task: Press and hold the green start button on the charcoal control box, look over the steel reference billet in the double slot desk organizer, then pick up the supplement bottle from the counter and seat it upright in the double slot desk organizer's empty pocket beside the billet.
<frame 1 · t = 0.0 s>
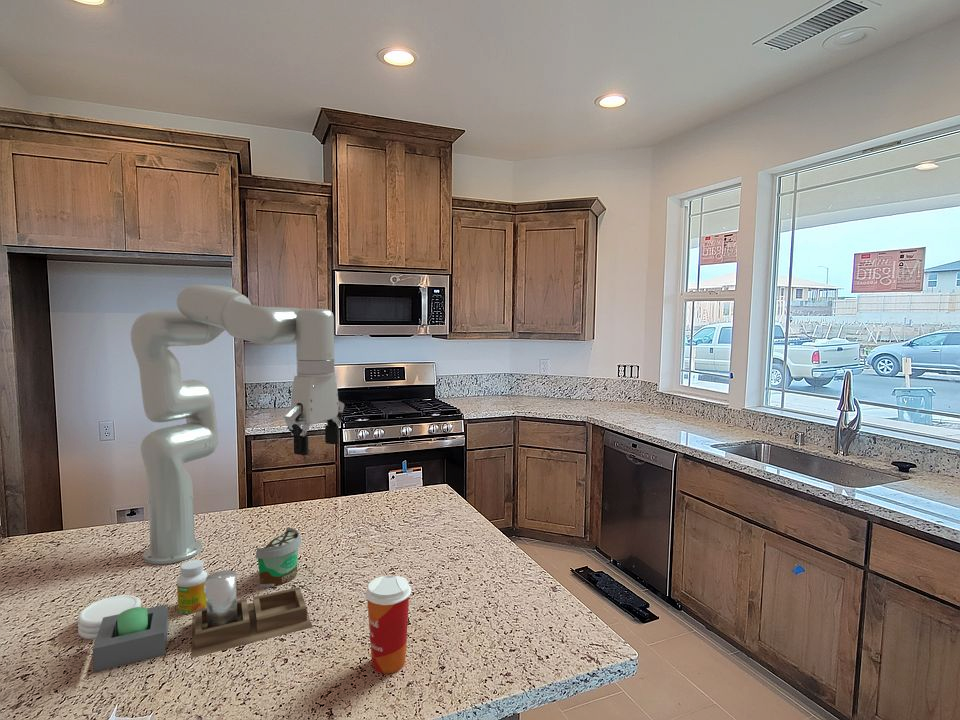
hand: (317, 448, 111), 31 cm above the countertop, tool pointing down, fingers open, 9 cm apart
start button: (133, 626, 92), point 5 cm above the countertop, slide at 0.0 cm
supplement bottle: (193, 611, 106), on the countertop
control box: (134, 651, 93), on the countertop
paper cup: (388, 664, 90), on the countertop
food container: (285, 582, 117), on the countertop
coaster: (110, 626, 101), on the countertop
double slot desk organizer: (252, 626, 100), on the countertop
reference billet: (222, 628, 98), point 1 cm above the countertop, touching double slot desk organizer
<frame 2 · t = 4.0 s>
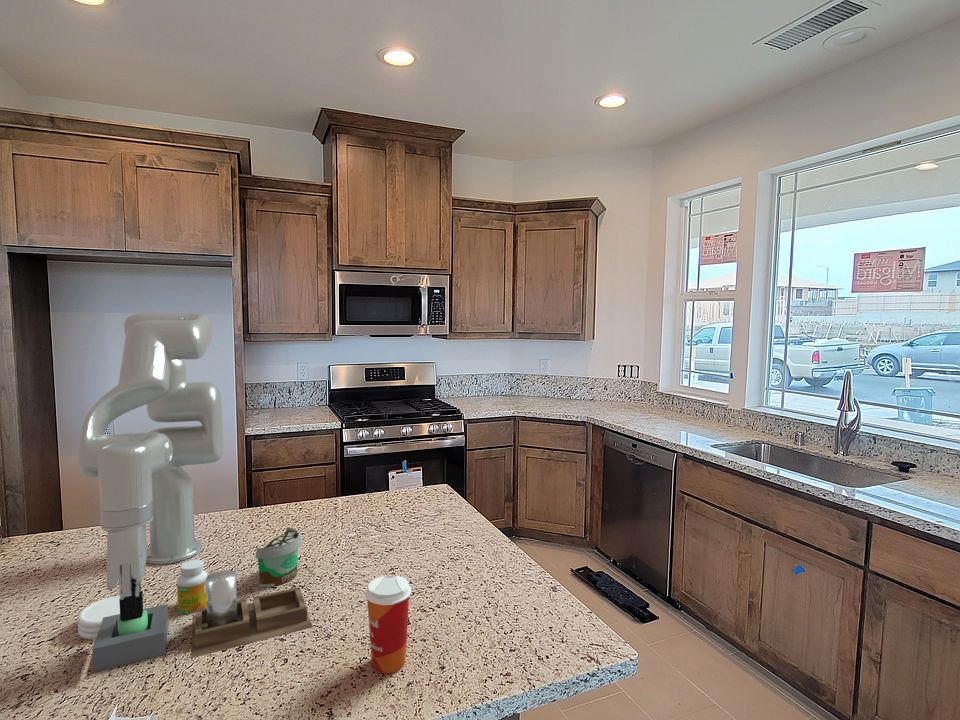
hand: (132, 617, 92), 7 cm above the countertop, tool pointing down, fingers closed
start button: (133, 628, 92), point 4 cm above the countertop, slide at 0.4 cm, touching gripper
everything else where it was.
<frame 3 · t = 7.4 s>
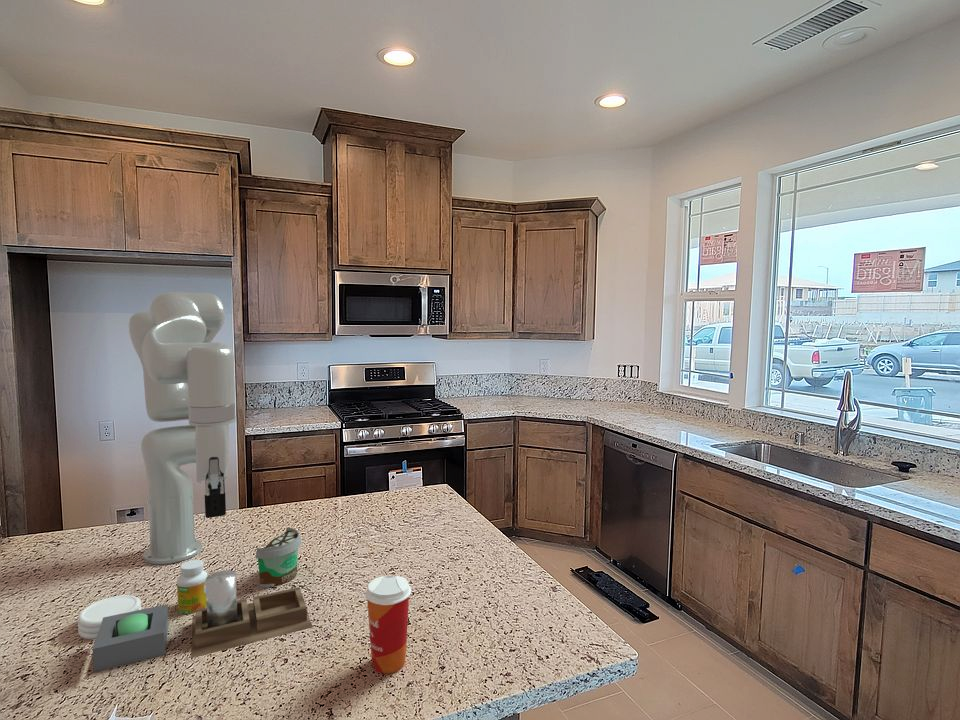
hand: (215, 507, 96), 24 cm above the countertop, tool pointing down, fingers open, 9 cm apart
start button: (133, 632, 92), point 4 cm above the countertop, slide at 1.2 cm
everything else where it was.
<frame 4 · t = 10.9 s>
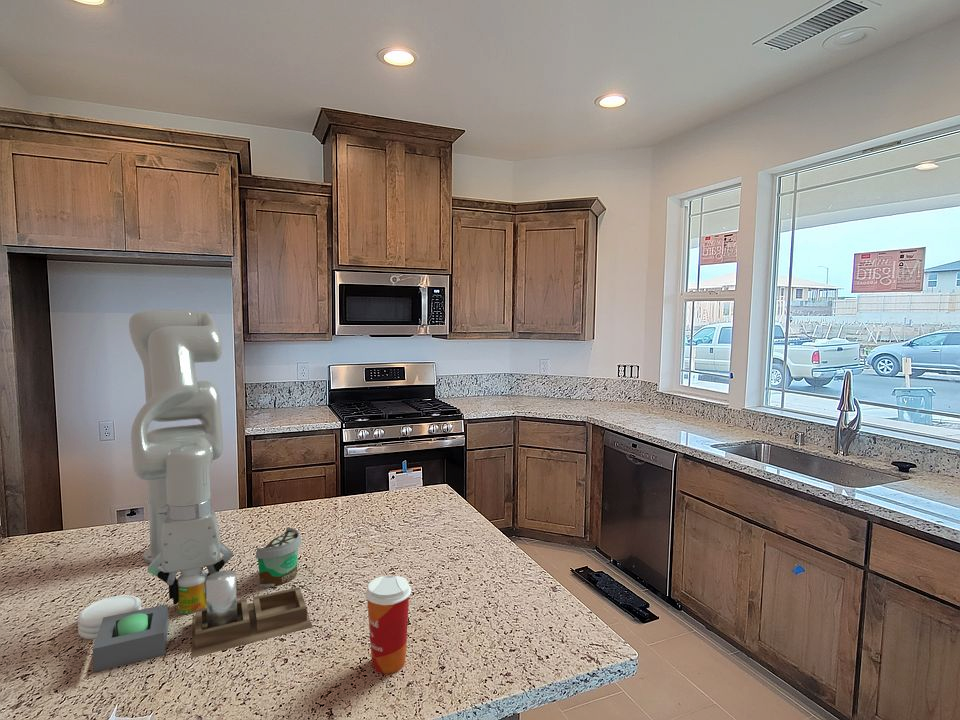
hand: (193, 596, 105), 3 cm above the countertop, tool pointing down, fingers closed on supplement bottle, 5 cm apart
supplement bottle: (193, 611, 106), on the countertop, touching gripper
everything else where it was.
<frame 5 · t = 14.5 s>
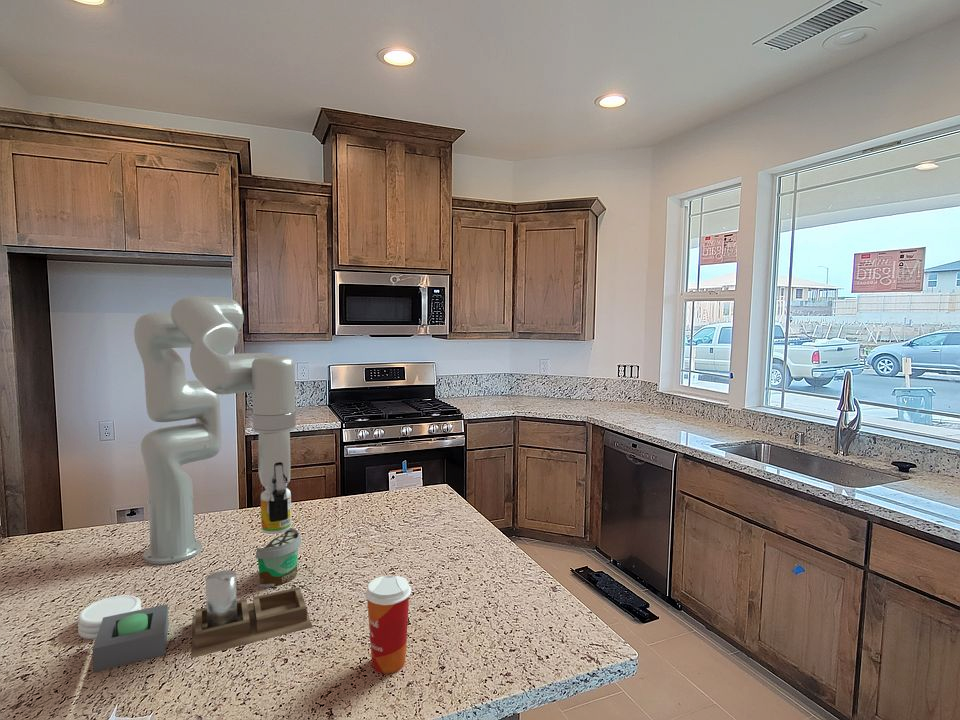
hand: (276, 513, 101), 21 cm above the countertop, tool pointing down, fingers closed on supplement bottle, 5 cm apart
supplement bottle: (276, 529, 101), point 18 cm above the countertop, touching gripper
everything else where it was.
when the fingers open (5 cm above the countertop, at t = 18.3 s): supplement bottle drops 1 cm, resting on double slot desk organizer.
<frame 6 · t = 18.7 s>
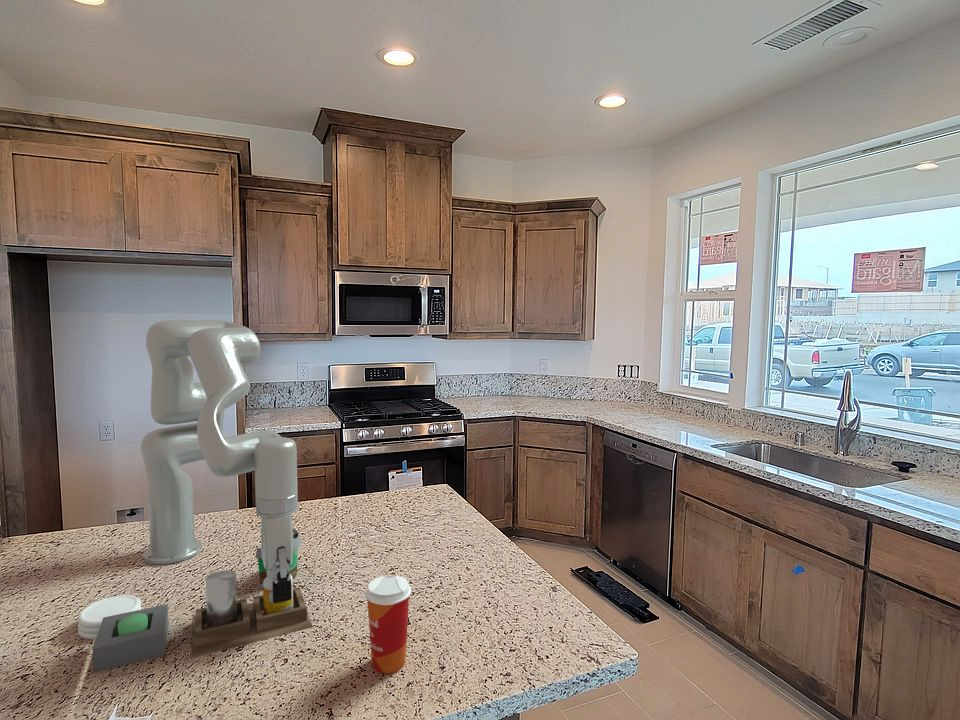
hand: (279, 588, 102), 6 cm above the countertop, tool pointing down, fingers open, 9 cm apart
supplement bottle: (278, 615, 103), point 1 cm above the countertop, touching double slot desk organizer
everything else where it was.
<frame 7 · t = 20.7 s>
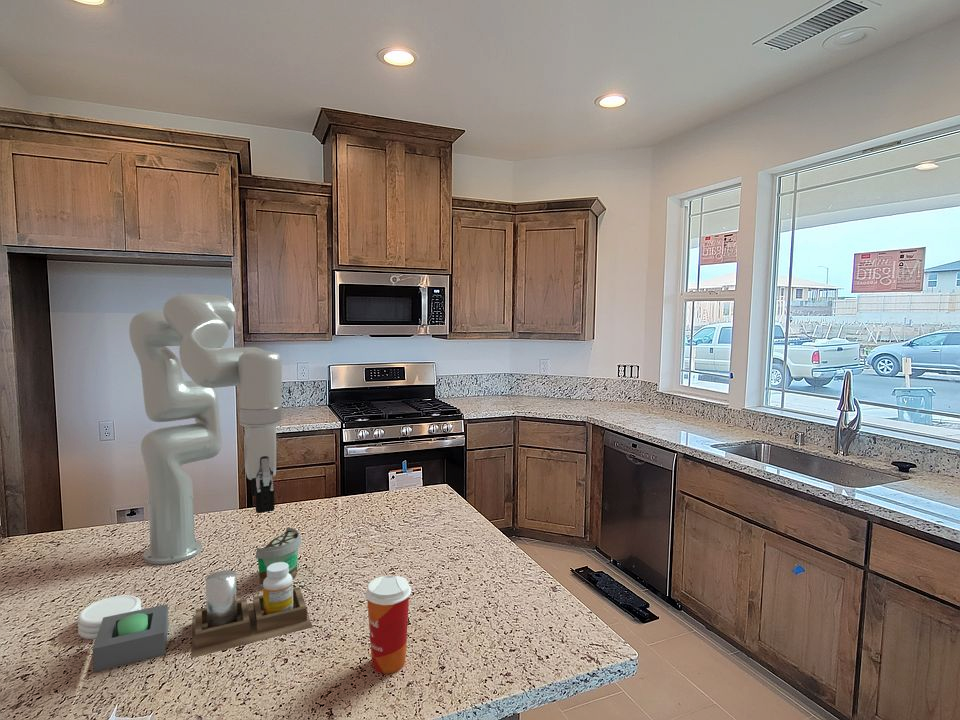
hand: (262, 502, 102), 23 cm above the countertop, tool pointing down, fingers open, 9 cm apart
nothing on the countertop moved.
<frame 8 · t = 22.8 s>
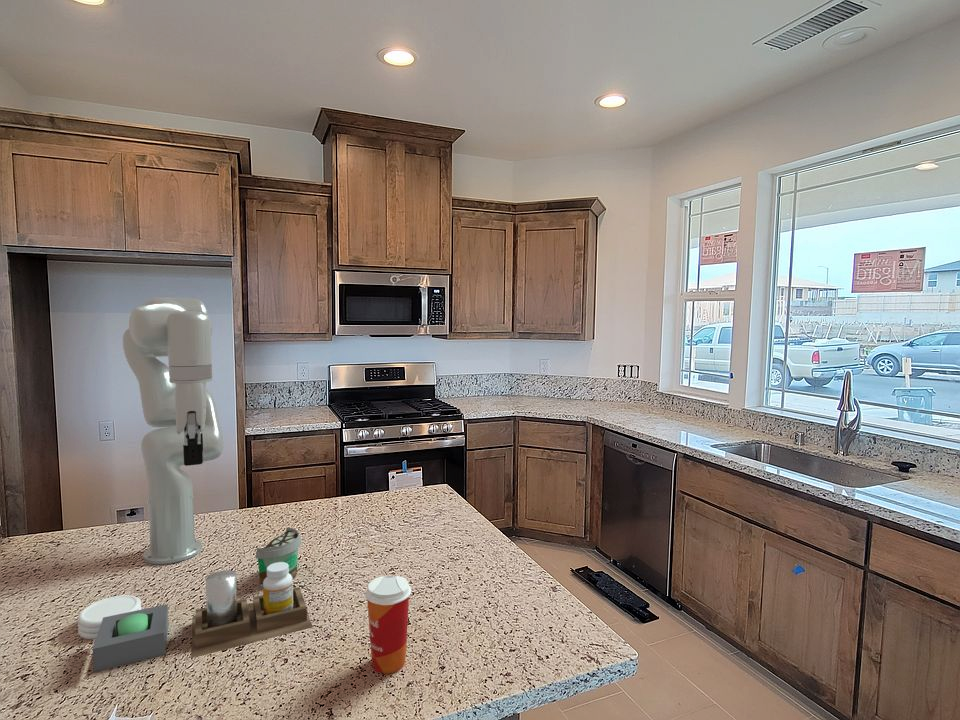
hand: (194, 458, 106), 30 cm above the countertop, tool pointing down, fingers open, 9 cm apart
nothing on the countertop moved.
at the end: start button slide at 1.2 cm; supplement bottle 0.3 cm from the target spot on the double slot desk organizer, point 0.8 cm above the double slot desk organizer's base; supplement bottle tilted 0° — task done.
